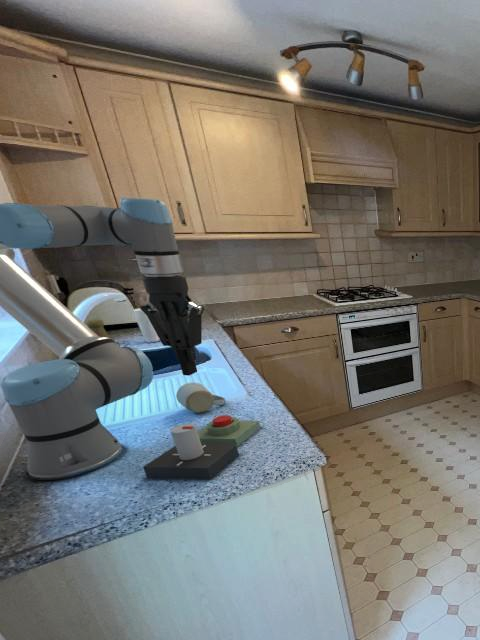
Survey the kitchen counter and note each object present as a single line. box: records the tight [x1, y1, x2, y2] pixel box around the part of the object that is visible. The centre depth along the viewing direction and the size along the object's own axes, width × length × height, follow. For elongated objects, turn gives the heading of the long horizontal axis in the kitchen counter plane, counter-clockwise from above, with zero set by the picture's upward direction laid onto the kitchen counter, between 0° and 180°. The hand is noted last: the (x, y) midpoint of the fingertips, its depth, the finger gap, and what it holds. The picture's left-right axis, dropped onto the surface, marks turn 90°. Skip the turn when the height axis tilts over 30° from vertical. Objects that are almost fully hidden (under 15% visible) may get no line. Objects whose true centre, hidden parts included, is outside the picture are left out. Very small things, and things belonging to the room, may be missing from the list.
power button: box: [212, 414, 232, 427], centre depth 105 cm, size 4×4×2 cm
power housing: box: [197, 416, 261, 447], centre depth 106 cm, size 12×10×4 cm
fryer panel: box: [142, 444, 240, 480], centre depth 93 cm, size 14×10×3 cm
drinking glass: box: [132, 307, 161, 344], centre depth 183 cm, size 7×7×15 cm
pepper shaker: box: [86, 318, 110, 338], centre depth 178 cm, size 6×6×11 cm
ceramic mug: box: [176, 382, 226, 414], centre depth 121 cm, size 11×8×8 cm
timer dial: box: [170, 423, 204, 460], centre depth 91 cm, size 4×4×7 cm
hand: (190, 373), depth 99 cm, fingers closed
